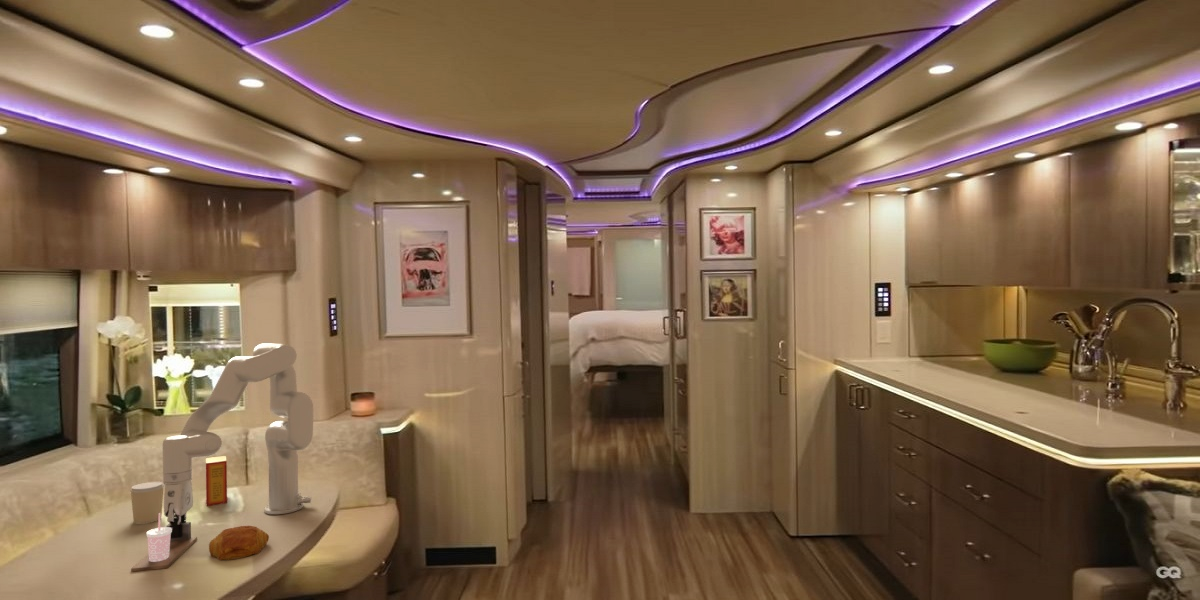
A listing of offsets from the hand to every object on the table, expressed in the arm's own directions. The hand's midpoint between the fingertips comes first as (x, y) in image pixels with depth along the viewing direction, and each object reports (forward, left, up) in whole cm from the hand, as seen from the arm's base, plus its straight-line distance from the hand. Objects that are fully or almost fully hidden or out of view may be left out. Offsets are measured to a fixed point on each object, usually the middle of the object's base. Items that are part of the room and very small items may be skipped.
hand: (178, 535), depth 200 cm
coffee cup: (+19, -26, -3) cm, 33 cm away
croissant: (-20, +12, -3) cm, 24 cm away
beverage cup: (0, +15, -3) cm, 15 cm away
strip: (0, +9, -2) cm, 10 cm away
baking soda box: (+3, -43, -3) cm, 44 cm away
